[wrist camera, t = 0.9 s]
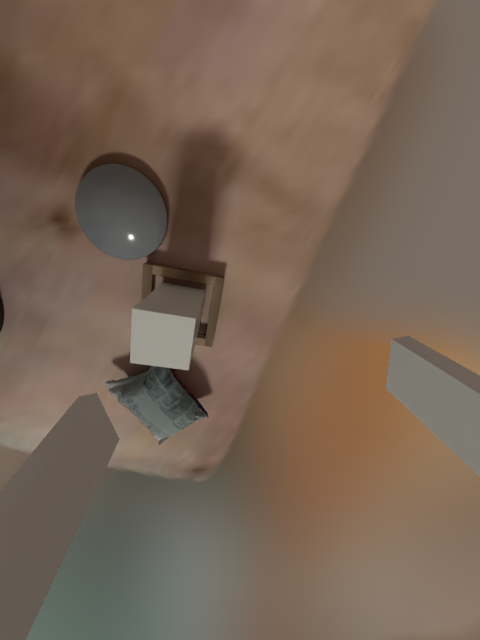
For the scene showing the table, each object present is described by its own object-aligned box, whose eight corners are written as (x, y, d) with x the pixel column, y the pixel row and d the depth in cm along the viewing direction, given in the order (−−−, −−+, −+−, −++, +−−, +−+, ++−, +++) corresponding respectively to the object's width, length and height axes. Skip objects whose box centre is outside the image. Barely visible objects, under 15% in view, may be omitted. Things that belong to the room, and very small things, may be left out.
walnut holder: (143, 332, 29) (139, 336, 28) (146, 262, 26) (143, 263, 25) (212, 342, 30) (212, 346, 29) (224, 276, 27) (224, 278, 26)
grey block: (160, 320, 29) (130, 362, 20) (163, 282, 27) (131, 308, 18) (199, 326, 30) (188, 370, 20) (205, 289, 28) (195, 318, 19)
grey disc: (81, 250, 25) (77, 250, 24) (77, 155, 22) (72, 152, 21) (164, 265, 26) (162, 266, 26) (171, 177, 23) (170, 176, 23)
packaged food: (162, 429, 35) (154, 458, 31) (111, 374, 31) (92, 398, 27) (210, 404, 35) (209, 431, 30) (164, 345, 30) (154, 364, 26)
